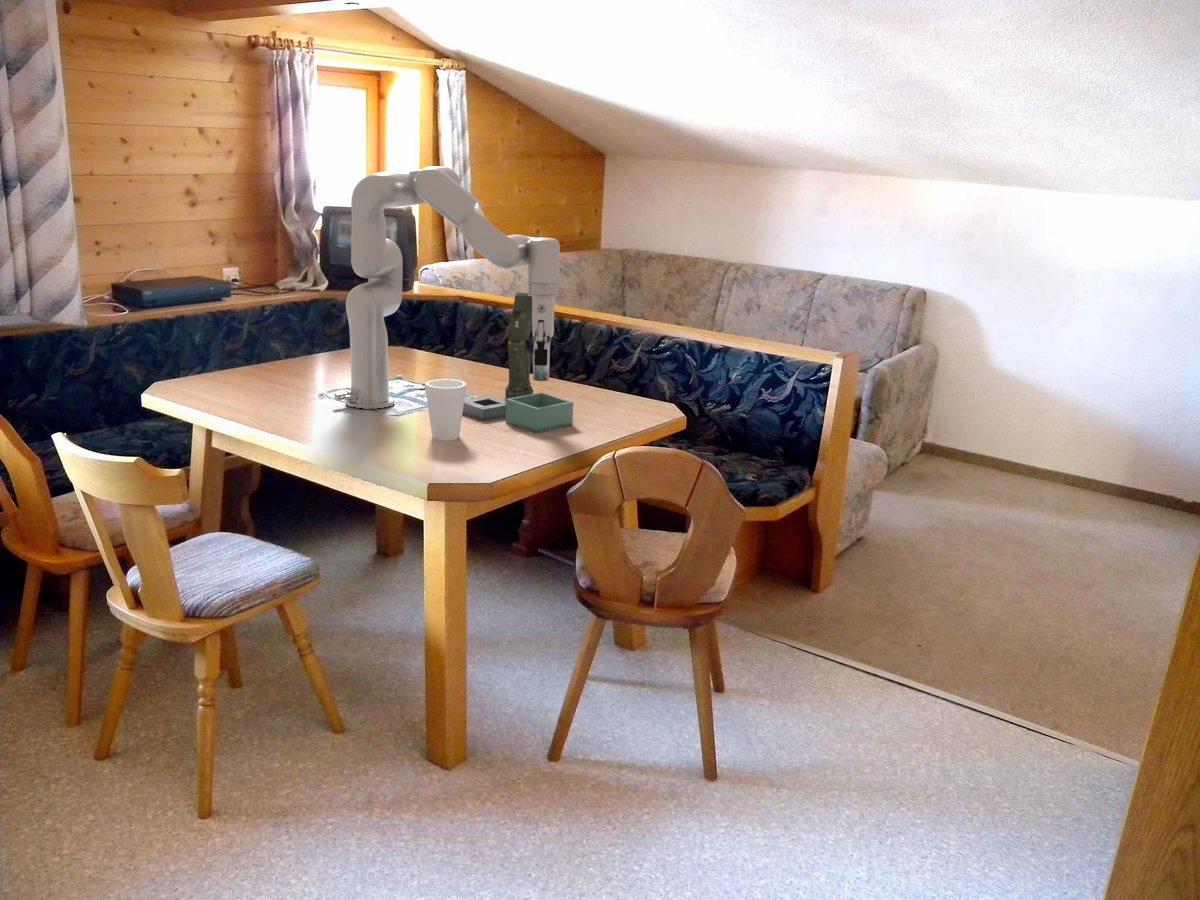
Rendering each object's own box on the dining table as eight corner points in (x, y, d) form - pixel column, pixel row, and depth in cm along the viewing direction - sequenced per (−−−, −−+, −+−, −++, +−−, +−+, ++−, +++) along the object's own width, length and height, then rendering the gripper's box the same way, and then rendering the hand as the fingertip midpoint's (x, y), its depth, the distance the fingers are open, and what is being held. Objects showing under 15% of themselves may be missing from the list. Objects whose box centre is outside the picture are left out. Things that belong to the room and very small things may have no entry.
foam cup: (471, 433, 243) (471, 381, 239) (457, 444, 234) (457, 389, 230) (434, 429, 245) (434, 377, 241) (419, 439, 236) (419, 385, 232)
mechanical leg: (522, 404, 268) (532, 291, 267) (496, 401, 270) (506, 289, 268) (535, 404, 282) (544, 297, 280) (510, 401, 283) (519, 295, 281)
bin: (536, 432, 246) (537, 409, 244) (505, 421, 254) (505, 398, 252) (572, 425, 254) (573, 402, 253) (541, 414, 262) (541, 392, 261)
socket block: (483, 420, 254) (483, 409, 253) (459, 412, 261) (459, 401, 260) (513, 414, 261) (513, 403, 260) (489, 406, 268) (489, 395, 267)
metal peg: (531, 380, 249) (532, 333, 245) (532, 376, 253) (533, 329, 250) (549, 381, 249) (551, 333, 245) (550, 377, 253) (552, 330, 250)
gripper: (556, 295, 236) (554, 371, 242) (560, 285, 252) (557, 357, 258) (524, 293, 236) (523, 369, 242) (530, 284, 252) (528, 355, 258)
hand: (541, 362), depth 250 cm, fingers closed on metal peg, 4 cm apart
